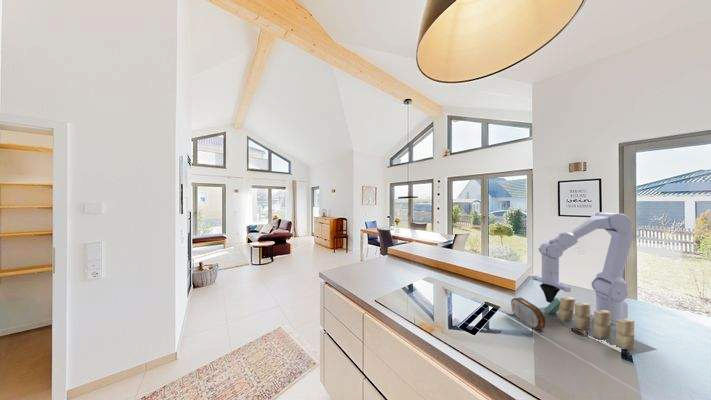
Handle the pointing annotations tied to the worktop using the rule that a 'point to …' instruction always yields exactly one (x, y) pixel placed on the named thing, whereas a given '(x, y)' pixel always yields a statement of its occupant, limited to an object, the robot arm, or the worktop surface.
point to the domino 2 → (566, 308)
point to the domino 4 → (602, 324)
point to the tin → (528, 313)
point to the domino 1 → (553, 306)
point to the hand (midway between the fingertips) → (549, 302)
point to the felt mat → (611, 340)
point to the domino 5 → (625, 333)
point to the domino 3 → (582, 315)
